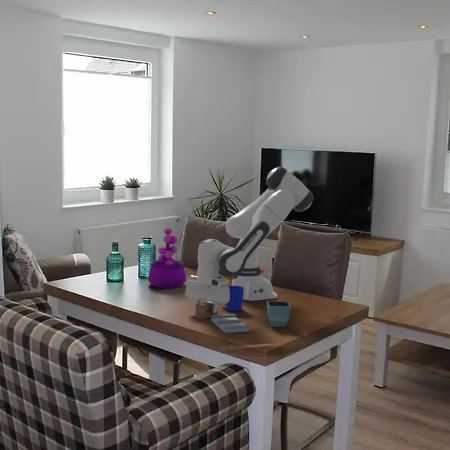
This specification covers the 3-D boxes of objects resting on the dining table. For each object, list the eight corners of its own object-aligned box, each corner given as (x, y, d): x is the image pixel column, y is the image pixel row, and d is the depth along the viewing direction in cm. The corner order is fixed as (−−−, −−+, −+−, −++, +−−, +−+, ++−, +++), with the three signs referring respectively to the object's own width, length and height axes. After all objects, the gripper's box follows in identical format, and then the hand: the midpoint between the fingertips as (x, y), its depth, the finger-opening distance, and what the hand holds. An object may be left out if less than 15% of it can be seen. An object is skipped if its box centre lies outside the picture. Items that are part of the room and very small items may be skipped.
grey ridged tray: (234, 319, 255) (234, 313, 254) (248, 331, 239) (249, 325, 238) (211, 320, 252) (211, 315, 251) (224, 332, 236) (224, 327, 235)
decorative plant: (160, 281, 319) (162, 223, 315) (192, 286, 311) (194, 227, 307) (140, 288, 302) (141, 227, 298) (173, 293, 294) (174, 231, 290)
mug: (225, 305, 277) (226, 283, 275) (246, 310, 269) (247, 287, 268) (213, 308, 270) (214, 285, 269) (235, 313, 263) (236, 290, 262)
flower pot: (287, 322, 252) (288, 301, 251) (290, 329, 243) (291, 306, 242) (265, 322, 252) (266, 300, 251) (267, 328, 243) (268, 306, 242)
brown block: (209, 313, 263) (209, 299, 262) (217, 315, 260) (217, 301, 260) (195, 317, 256) (195, 303, 255) (203, 319, 253) (204, 305, 253)
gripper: (183, 275, 259) (182, 308, 261) (223, 283, 248) (222, 316, 250) (192, 273, 265) (191, 305, 266) (232, 280, 253) (231, 313, 255)
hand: (206, 310), depth 258 cm, fingers open, 6 cm apart
